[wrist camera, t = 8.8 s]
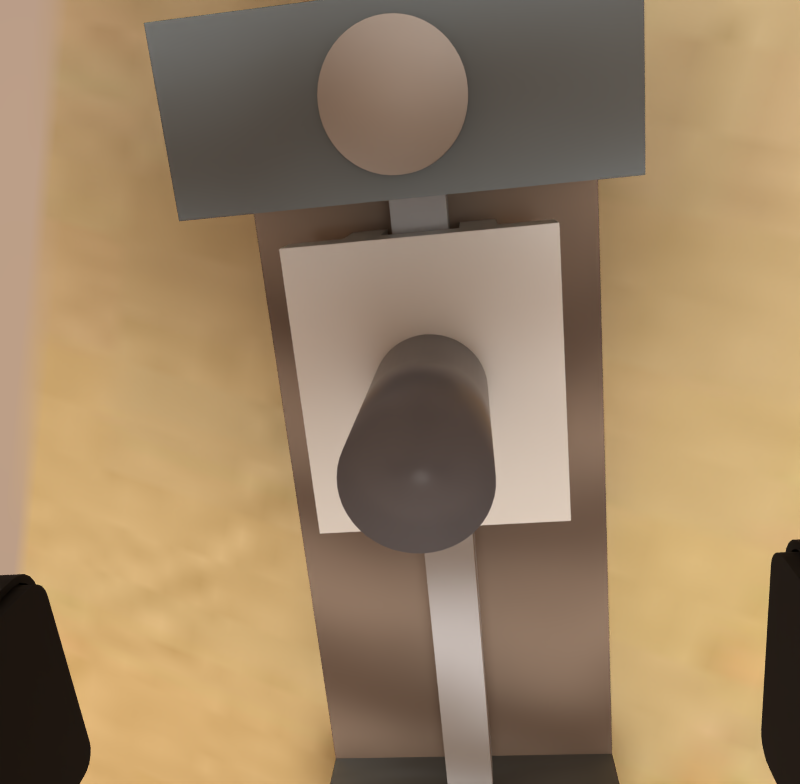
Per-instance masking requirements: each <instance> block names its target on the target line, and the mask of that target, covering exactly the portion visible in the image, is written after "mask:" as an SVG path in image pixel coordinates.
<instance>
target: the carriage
mask: <svg viewBox="0 0 800 784" xmlns="http://www.w3.org/2000/svg"><path fill="white" fill-rule="evenodd" d="M279 252H280V259H281V266H282V273H283V280H284V287H285V294H286V301H287V308H288V315H289V322H290V329H291V336H292V343H293V350H294V357H295V364H296V371H297V378H298V384H299V391H300V398H301V405H302V412H303V419H304V426H305V433H306V440H307V447H308V454H309V461H310V468H311V475H312V482H313V489H314V496H315V503H316V510H317V517H318V524H319V531H320V534H321V533H341V532H360V531H361V532H362V533H364V534H365V535H366V536H367V537H369V538H370V539H372V540H373V541H375V542H377V543H379V544H380V545H382V546H385V547H387V548H390V549H393V550H396V551H400V552H406V553H432V552H437V551H441V550H444V549H447V548H450V547H453V546H454V545H456V544H458V543H460V542H462V541H463V540H465V539H466V538H468V537H469V536H470V535H471V534H473V533H474V532H475V531H476V530H477V529H478V528H479V526H480V525H498V524H517V523H537V522H556V521H571V508H570V482H569V457H568V431H567V406H566V380H565V354H564V329H563V303H562V278H561V252H560V227H559V222H558V221H556V220H555V219H550V220H539V221H529V222H518V223H508V224H497V222H496V220H495V219H488V220H477V221H467V222H460V225H459V228H455V229H444V230H433V231H423V232H412V233H402V234H391V235H388V229H383V230H372V231H362V232H353V233H352V234H350V235H348V236H347V237H345V238H344V239H338V240H327V241H317V242H306V243H296V244H289V245H287V246H284V247H282V248H280V249H279Z"/></svg>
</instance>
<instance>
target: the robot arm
mask: <svg viewBox="0 0 800 784" xmlns="http://www.w3.org/2000/svg"><path fill="white" fill-rule="evenodd" d="M761 737H762V745H763V750H764V754H765V758H766V761H767V763H768V766H769V768H770V770H771V773H772V775H773V777H774V779H775V781H776V783H777V784H800V539H799V540H792V541H790V542H789V544H788V546H787V548H786V552H781V553H775V554H774V555H773V558H772V562H771V574H770V591H769V608H768V625H767V642H766V660H765V677H764V694H763V711H762V728H761ZM90 750H91V748H90V742H89V738H88V735H87V731H86V728H85V724H84V721H83V717H82V714H81V710H80V707H79V703H78V700H77V696H76V693H75V689H74V686H73V683H72V679H71V676H70V672H69V669H68V665H67V662H66V658H65V655H64V651H63V648H62V644H61V641H60V637H59V634H58V630H57V627H56V623H55V620H54V616H53V613H52V609H51V606H50V603H49V599H48V596H47V593H46V591H45V589H44V588H43V587H42V586H40V585H36V584H35V582H34V580H33V579H32V578H31V577H30V576H27V575H25V574H18V575H0V784H80V782H81V780H82V779H83V777H84V775H85V773H86V771H87V768H88V765H89V761H90Z"/></svg>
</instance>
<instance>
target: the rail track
mask: <svg viewBox="0 0 800 784" xmlns="http://www.w3.org/2000/svg"><path fill="white" fill-rule="evenodd" d="M144 26H145V32H146V38H147V43H148V49H149V54H150V60H151V66H152V71H153V77H154V83H155V88H156V94H157V99H158V105H159V111H160V116H161V122H162V127H163V133H164V139H165V144H166V150H167V155H168V161H169V167H170V172H171V178H172V183H173V189H174V195H175V200H176V206H177V212H178V217H179V221H186V220H196V219H206V218H216V217H226V216H236V215H246V214H254V217H255V224H256V230H257V237H258V244H259V250H260V257H261V264H262V270H263V277H264V283H265V290H266V297H267V303H268V310H269V317H270V323H271V330H272V337H273V343H274V350H275V357H276V363H277V370H278V377H279V383H280V390H281V396H282V403H283V410H284V416H285V423H286V430H287V436H288V443H289V450H290V456H291V463H292V470H293V476H294V483H295V489H296V496H297V503H298V509H299V516H300V523H301V529H302V536H303V543H304V549H305V556H306V563H307V569H308V576H309V582H310V589H311V596H312V602H313V609H314V616H315V622H316V629H317V636H318V642H319V649H320V656H321V662H322V669H323V676H324V682H325V689H326V695H327V702H328V709H329V715H330V722H331V729H332V735H333V742H334V749H335V755H336V761H335V765H334V770H333V774H332V779H331V783H330V784H619V780H618V776H617V772H616V768H615V764H614V760H613V756H612V734H611V693H610V653H609V612H608V572H607V531H606V490H605V450H604V409H603V369H602V328H601V287H600V247H599V206H598V179H608V178H618V177H628V176H638V175H645V62H644V0H316V1H309V2H301V3H293V4H286V5H278V6H270V7H262V8H255V9H247V10H239V11H232V12H224V13H216V14H209V15H201V16H193V17H186V18H178V19H170V20H163V21H155V22H147V23H144ZM488 219H495V220H496V222H497V224H508V223H518V222H529V221H539V220H550V219H555V220H556V221H558V222H559V227H560V252H561V278H562V303H563V329H564V354H565V380H566V406H567V431H568V457H569V482H570V508H571V521H556V522H537V523H517V524H498V525H480V526H479V528H478V529H477V530H476V531H475V532H474V533H473V534H471V535H470V536H469V537H468V538H466V539H465V540H463V541H462V542H460V543H458V544H456V545H454V546H453V547H450V548H447V549H444V550H441V551H437V552H432V553H406V552H400V551H396V550H393V549H390V548H387V547H385V546H382V545H380V544H379V543H377V542H375V541H373V540H372V539H370V538H369V537H367V536H366V535H365V534H364V533H362V532H361V531H360V532H341V533H321V534H320V531H319V524H318V517H317V510H316V503H315V496H314V489H313V482H312V475H311V468H310V461H309V454H308V447H307V440H306V433H305V426H304V419H303V412H302V405H301V398H300V391H299V384H298V378H297V371H296V364H295V357H294V350H293V343H292V336H291V329H290V322H289V315H288V308H287V301H286V294H285V287H284V280H283V273H282V266H281V259H280V252H279V249H280V248H282V247H284V246H287V245H289V244H296V243H306V242H317V241H327V240H338V239H344V238H345V237H347V236H348V235H350V234H352V233H353V232H362V231H372V230H383V229H388V235H391V234H402V233H412V232H423V231H433V230H444V229H455V228H459V225H460V222H467V221H477V220H488Z"/></svg>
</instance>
